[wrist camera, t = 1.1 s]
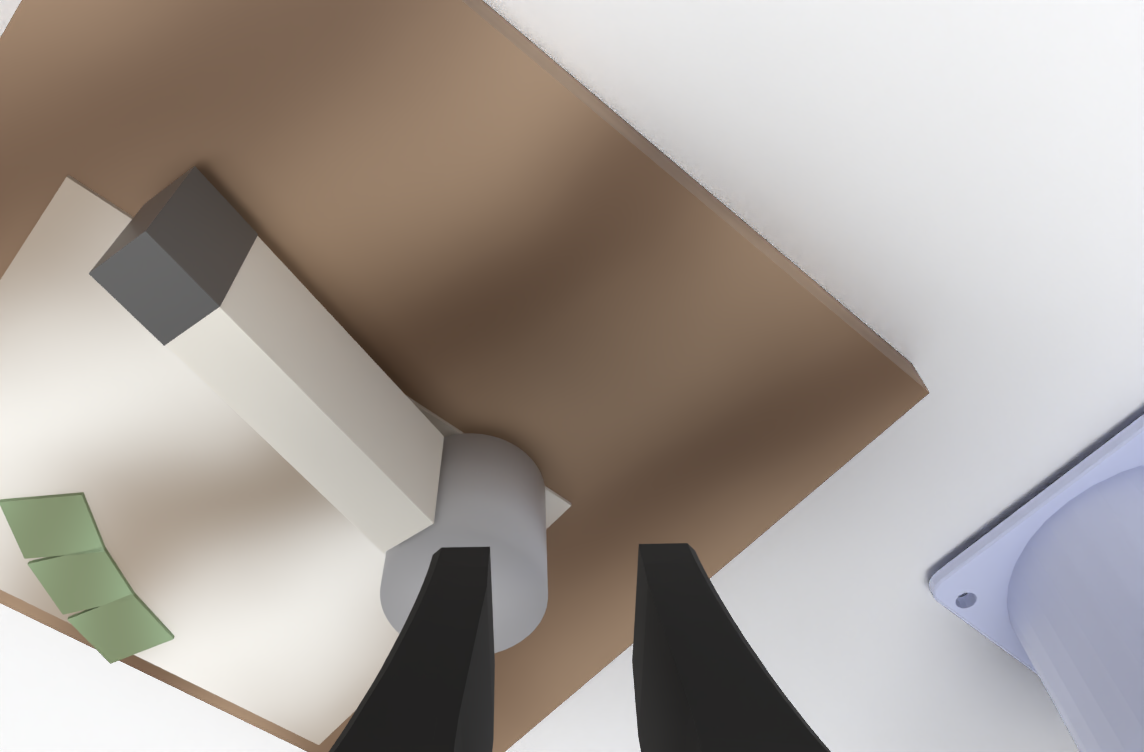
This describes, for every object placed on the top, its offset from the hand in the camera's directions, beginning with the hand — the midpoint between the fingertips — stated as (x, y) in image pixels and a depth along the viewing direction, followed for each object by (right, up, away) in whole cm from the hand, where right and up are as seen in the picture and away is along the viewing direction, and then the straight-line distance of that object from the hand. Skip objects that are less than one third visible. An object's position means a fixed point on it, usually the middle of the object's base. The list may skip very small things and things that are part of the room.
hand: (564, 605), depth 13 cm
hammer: (-4, +3, +8) cm, 9 cm away
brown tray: (-5, +2, +10) cm, 11 cm away
